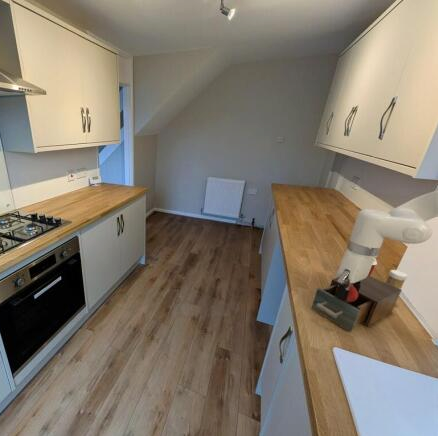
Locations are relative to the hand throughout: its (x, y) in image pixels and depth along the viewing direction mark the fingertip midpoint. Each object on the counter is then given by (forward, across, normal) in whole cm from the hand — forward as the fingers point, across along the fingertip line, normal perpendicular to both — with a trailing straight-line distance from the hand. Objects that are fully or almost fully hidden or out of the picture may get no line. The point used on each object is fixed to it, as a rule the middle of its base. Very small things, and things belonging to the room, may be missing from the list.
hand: (346, 294), depth 81 cm
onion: (+3, 0, 0) cm, 3 cm away
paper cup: (+10, -27, -8) cm, 30 cm away
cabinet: (+10, -12, 0) cm, 15 cm away
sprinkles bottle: (+10, -26, +3) cm, 28 cm away
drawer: (+9, 0, 0) cm, 9 cm away
